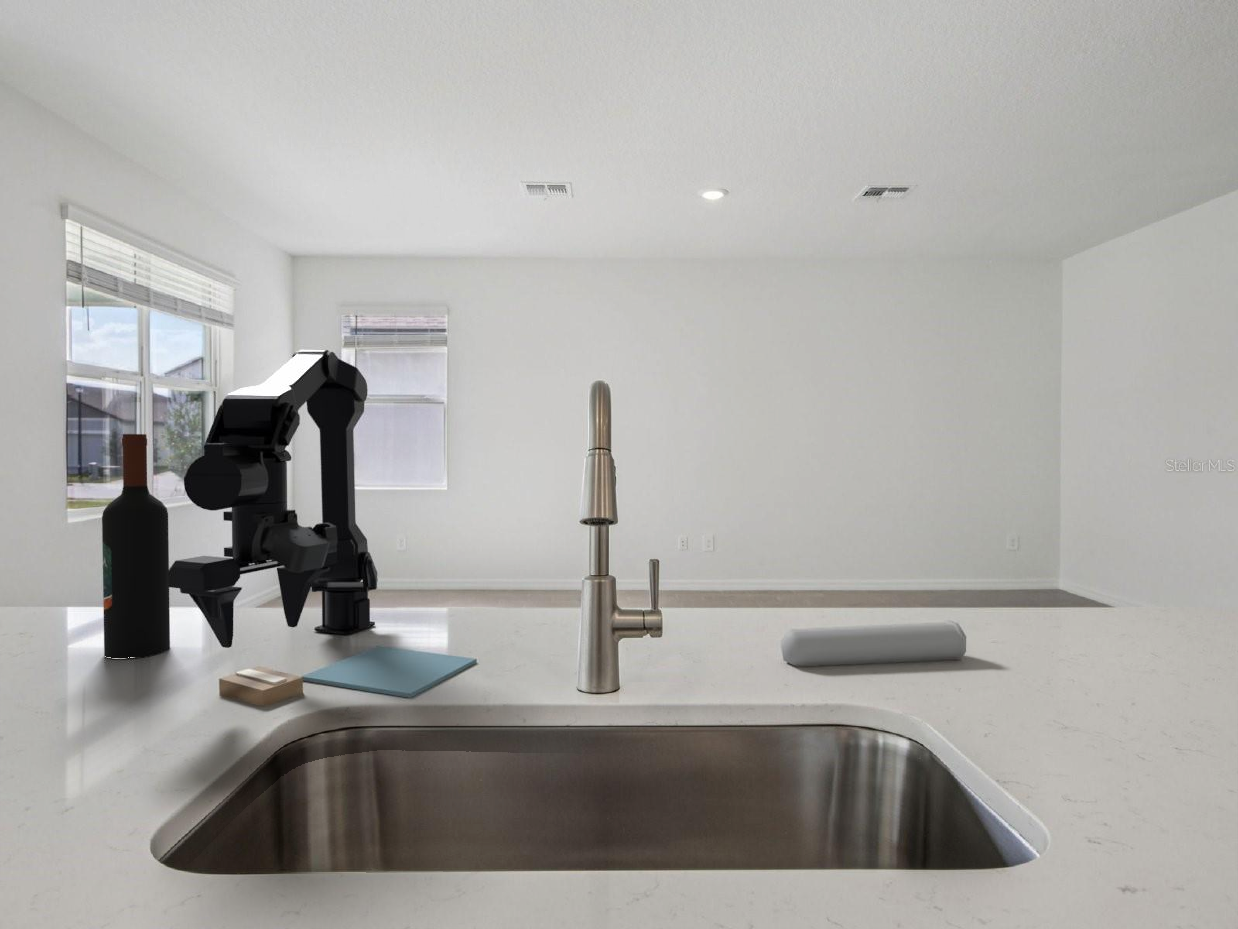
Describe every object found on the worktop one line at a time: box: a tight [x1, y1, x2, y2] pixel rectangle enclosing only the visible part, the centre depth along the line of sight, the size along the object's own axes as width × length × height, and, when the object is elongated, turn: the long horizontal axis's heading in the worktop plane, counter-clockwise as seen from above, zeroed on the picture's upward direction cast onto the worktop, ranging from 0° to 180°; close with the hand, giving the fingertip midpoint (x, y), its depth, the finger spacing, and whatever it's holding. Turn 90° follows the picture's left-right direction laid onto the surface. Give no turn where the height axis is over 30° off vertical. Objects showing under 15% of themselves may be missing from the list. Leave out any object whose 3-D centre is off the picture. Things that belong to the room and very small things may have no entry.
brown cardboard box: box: [218, 666, 304, 707], centre depth 82 cm, size 8×5×2 cm, turn 61°
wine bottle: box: [101, 433, 171, 658], centre depth 98 cm, size 8×8×30 cm
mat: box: [300, 645, 477, 699], centre depth 90 cm, size 16×14×1 cm
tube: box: [779, 619, 967, 668], centre depth 96 cm, size 5×5×25 cm
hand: (261, 636), depth 82 cm, fingers open, 9 cm apart
